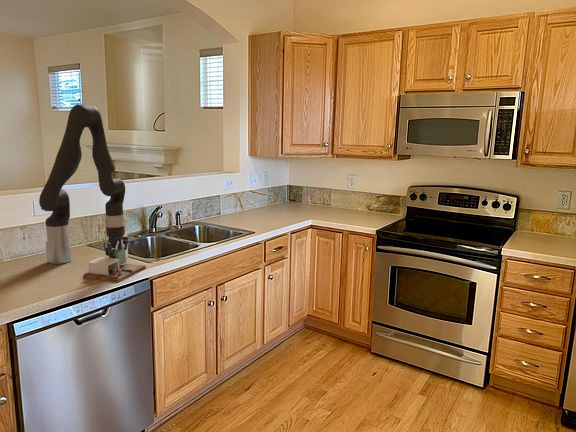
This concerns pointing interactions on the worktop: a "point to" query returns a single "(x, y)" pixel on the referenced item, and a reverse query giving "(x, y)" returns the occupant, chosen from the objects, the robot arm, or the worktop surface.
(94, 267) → the white rectangular block
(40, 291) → the worktop surface
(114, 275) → the board
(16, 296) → the worktop surface
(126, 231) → the water bottle
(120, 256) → the sleeve
